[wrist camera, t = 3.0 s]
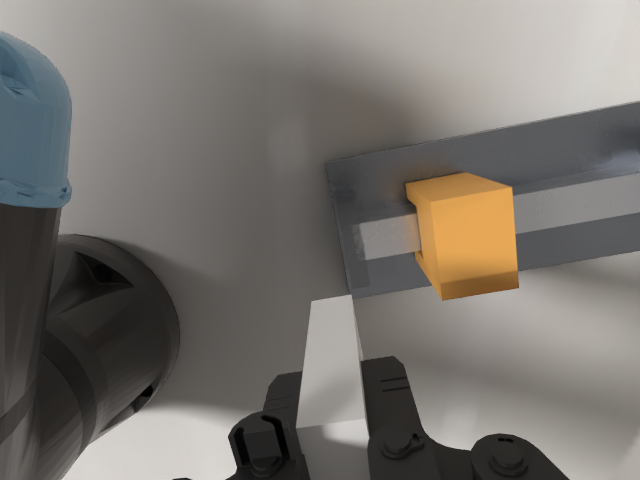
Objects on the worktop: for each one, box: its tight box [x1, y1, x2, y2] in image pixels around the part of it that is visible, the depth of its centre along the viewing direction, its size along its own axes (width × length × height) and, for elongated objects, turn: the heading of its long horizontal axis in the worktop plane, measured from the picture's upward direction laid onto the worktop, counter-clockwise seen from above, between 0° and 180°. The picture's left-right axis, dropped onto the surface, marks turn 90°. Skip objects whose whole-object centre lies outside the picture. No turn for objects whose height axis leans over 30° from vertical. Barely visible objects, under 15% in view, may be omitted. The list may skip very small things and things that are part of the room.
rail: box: [325, 101, 640, 299], centre depth 24 cm, size 24×10×8 cm, turn 101°
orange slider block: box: [405, 172, 519, 301], centre depth 24 cm, size 4×5×7 cm
